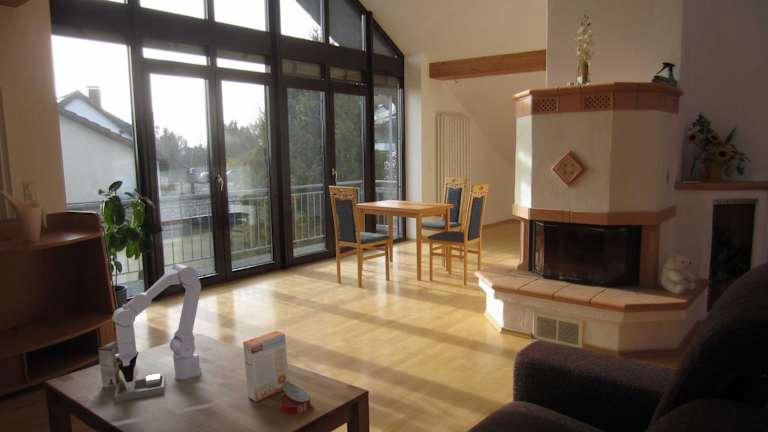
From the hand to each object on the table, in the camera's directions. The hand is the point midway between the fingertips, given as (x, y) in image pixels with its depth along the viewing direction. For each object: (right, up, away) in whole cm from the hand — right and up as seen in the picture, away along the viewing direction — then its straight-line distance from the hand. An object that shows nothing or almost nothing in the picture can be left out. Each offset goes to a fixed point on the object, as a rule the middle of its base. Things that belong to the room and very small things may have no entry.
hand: (130, 377), depth 189 cm
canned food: (+62, -7, -12) cm, 63 cm away
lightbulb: (0, -6, 0) cm, 6 cm away
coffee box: (-10, -6, +10) cm, 16 cm away
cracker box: (+50, -5, -1) cm, 50 cm away
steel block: (+7, -5, +3) cm, 9 cm away
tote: (+3, -7, +2) cm, 7 cm away
